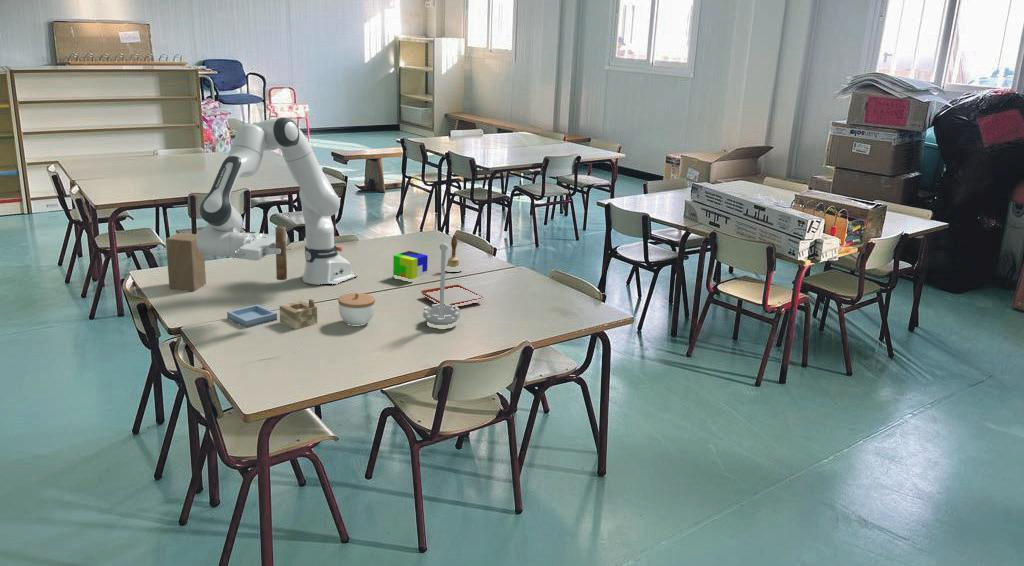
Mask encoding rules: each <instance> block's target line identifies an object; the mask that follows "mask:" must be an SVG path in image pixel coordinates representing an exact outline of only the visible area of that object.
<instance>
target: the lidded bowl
mask: <svg viewBox="0 0 1024 566" xmlns="http://www.w3.org/2000/svg"><path fill="white" fill-rule="evenodd" d="M337 300H338V301H337V302H338V309H339V310H338V312H339V315H340V318H341V319H342V320H343V321H344V322H345V324H346V323H347V324H350V325H361V324H365V323H367V324H368V322H370V321H371V319H372V318H373V317H374V314H375V313H374V311H375V307H376V305H375V304H376V303H375V302H376V297H374V296H373V295H372V294H368V293H363V292H351V293H345V294H342V295H340V296H339V297H338V299H337ZM347 324H346V325H347Z"/></svg>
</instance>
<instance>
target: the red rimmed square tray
mask: <svg viewBox="0 0 1024 566" xmlns="http://www.w3.org/2000/svg"><path fill="white" fill-rule="evenodd" d="M453 287H460V288H463V289H465V290H468V291H470V292H472V293H474V294H476V295H479V296H481V297H482V298H483V299H484V296H483V295H480V294H478V293H476V292H474V291H472V290H470V289H469V288H466V287H464V286H462V285H460V284H452V285H447V286H445V289H448V288H453ZM438 290H440V287H434V288H428V289H422V290H420V293H421V294H422V295H423V296H424V295H425V296H427V297H429V298H431V299H433V300H435V301H436V302H438V303H440V301H439V300H437V299H435V298H433V297H431V296H430V295H428V294H426V293H427V292H433V291H438ZM425 296H424V297H425ZM478 299H481V298H478ZM472 300H477V299H472ZM472 300H467V301H461V302H456V303H451V304H448V305H455V304H460V303H464V302H468V301H472ZM444 306H445V304H444Z"/></svg>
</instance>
